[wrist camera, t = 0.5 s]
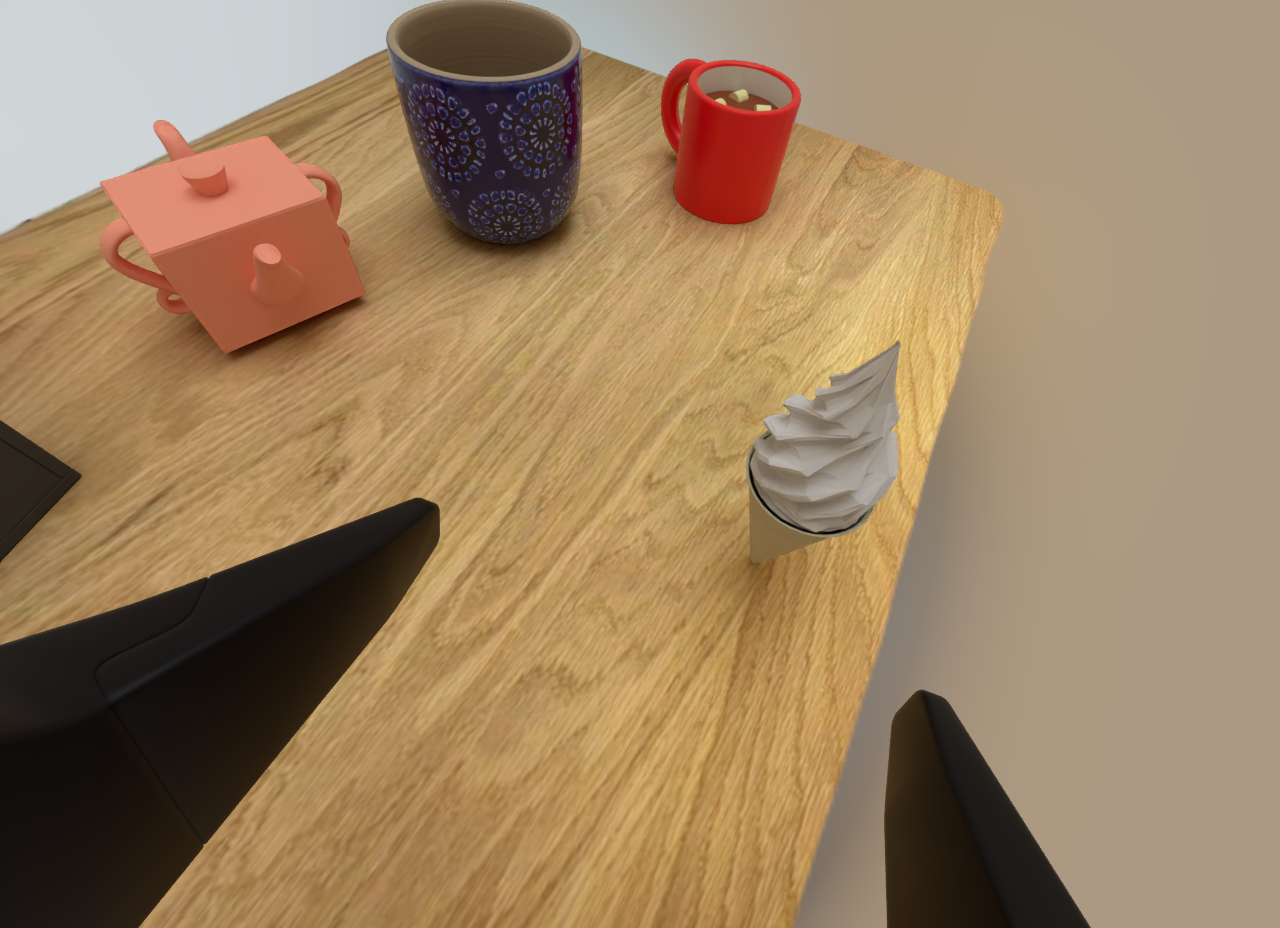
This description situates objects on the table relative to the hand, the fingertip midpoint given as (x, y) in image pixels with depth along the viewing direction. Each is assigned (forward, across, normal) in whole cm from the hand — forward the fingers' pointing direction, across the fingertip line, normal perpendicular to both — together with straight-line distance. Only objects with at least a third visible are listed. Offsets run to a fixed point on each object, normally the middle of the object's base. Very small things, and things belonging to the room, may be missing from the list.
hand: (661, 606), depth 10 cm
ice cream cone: (+15, -4, +11) cm, 19 cm away
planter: (+33, +20, +4) cm, 39 cm away
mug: (+43, +8, 0) cm, 44 cm away
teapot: (+20, +28, +9) cm, 36 cm away
